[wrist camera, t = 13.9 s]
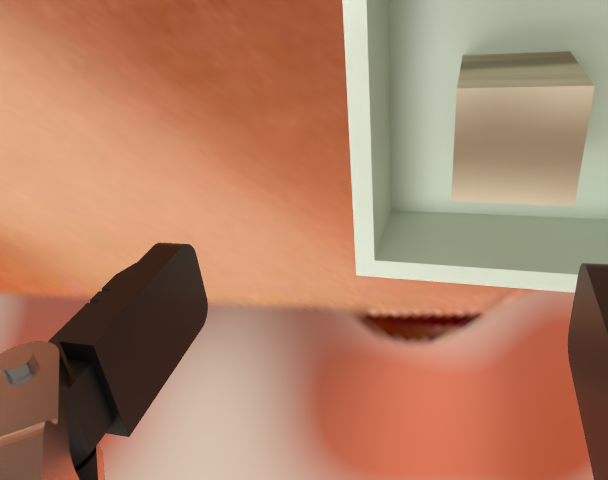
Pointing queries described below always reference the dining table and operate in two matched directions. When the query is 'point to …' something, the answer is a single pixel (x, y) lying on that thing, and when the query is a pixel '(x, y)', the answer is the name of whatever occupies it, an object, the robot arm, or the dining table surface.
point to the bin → (440, 143)
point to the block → (520, 128)
